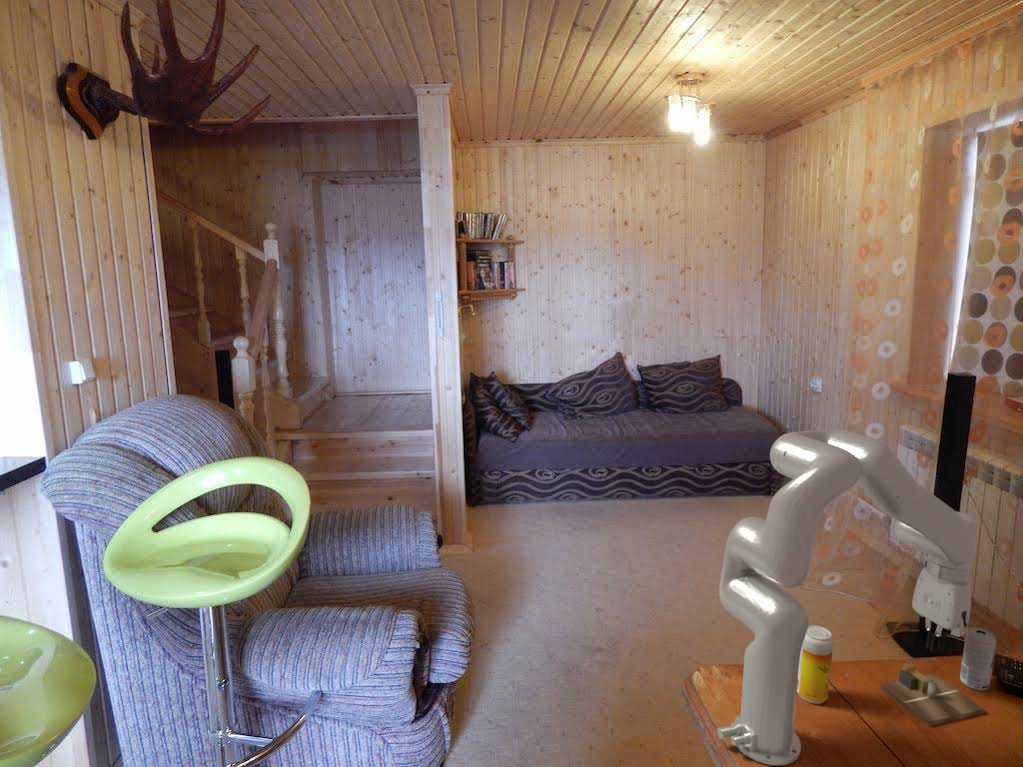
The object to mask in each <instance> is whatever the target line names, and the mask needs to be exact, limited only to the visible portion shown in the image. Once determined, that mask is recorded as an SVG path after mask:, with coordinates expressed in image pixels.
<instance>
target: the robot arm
mask: <svg viewBox="0 0 1023 767" xmlns="http://www.w3.org/2000/svg"><path fill="white" fill-rule="evenodd" d="M891 448H892V447H890V446H889V445H888V444H887V443H885V442H883V441H882V440H880V439H878V438H875V437H873V436H868V435H863V434H861V433H858V432H853V431H850V430H847V429H841V428H827V429H826V428H825V429H814V430H801V431H800V430H799V431H792V432H788V433H787V432H786V433H785V434H783V435H781V436H779V437H778V438H777V439H776V440H775V441H774V442H773V444H772V445H771V447H770V449H769V450H770V451H769V459H770V463H771V466H772V467H773V468H774V470H775V471H777V473H779V474H781V475H783V476H785V477H787V478H790V479H791V480H790V481H789V482H787V483H785V485H783V486H782V487H780V489H778V491H777V492H775V494H774V495H773V496H772V499H771V500H770V503H769V506H768V510H767V514H766V519H764V518H761V517H756V516H749V517H745V518H742V519H740V520H739V521H738V522H737V523H736V524H735V525H734V526H733V527H732V528H731V530H730V532H729V534H728V537H727V540H726V544H725V549H724V556H723V562H722V568H721V575H720V580H719V581H720V582H719V587H718V588H719V589H718V590H719V591H718V592H719V593H718V594H719V596H718V597H719V599H720V600H719V601H720V603H721V605H722V607H723V608H724V610H726V611H727V612H728V613H729V614H731V616H733V617H734V618H736V619H737V620H738V621H740V622H741V623H742V624H744V625H745V626H746V627H747V628H749V629H750V630H751V631H752V632H753V633H754V640H752V641H751V642H750V643H749V644H748V645H747V647H746V649H745V652H744V657H743V658H744V659H743V671H742V672H743V673H742V674H743V676H742V687H741V688H742V690H741V702H740V705H741V706H740V715H736V716H735V720H734V721H733V723H731V724H730V725H729V726H727V725H725V726H721V727H717V729H716V731H717V736H718V737H719V739H720V740H723V739H728V738H730V741H731V744H732V745H733V746H735V747H736V748H737V749H738V751H740V752H741V753H742V754H743V755H744V756H747V758H749V759H752V760H753V761H756V762H758V763H761V764H764V765H769V766H786V765H790V764H791V763H794V762H795V761H797V760H798V759H799V757H800V755H801V752H802V751H801V750H802V742H801V740H800V737H799V736H798V734H797V733H796V732H795V731H794V730H795V728H794V726H795V725H794V724H795V715H796V704H797V703H796V701H797V694H798V692H797V681H798V668H799V659H800V653H801V648H802V645H803V641H804V638H805V635H806V633H807V629H808V626H809V625H810V624H809V623H810V618H809V613H808V611H807V609H806V607H805V606H804V605H803V603H802V602H801V601H800V600H799V599H797V598H796V597H795V596H794V595H793V594H791V593H789V592H788V591H787V590H785V589H784V588H787V589H788V588H789V589H791V588H793V589H794V588H797V587H799V586H800V585H802V584H803V583H804V582H805V580H806V579H807V576H808V573H809V571H810V570H809V569H810V565H811V562H812V560H811V559H812V556H813V550H814V545H815V539H816V533H817V529H818V524H819V520H820V518H821V516H822V514H823V513H824V511H825V510H826V509H827V508H828V507H829V505H831V504H832V503H833V502H834V501H835V500H836V499H838V498H839V497H840V496H842V495H844V494H845V493H847V492H848V491H849V490H850V489H852V488H853V487H854V486H855V485H856V483H857V484H858V485H859V487H860V488H861V489H862V490H863V491H864V492H865V493H866V495H867V496H868V498H870V500H871V502H873V504H874V505H875V506H876V507H877V508H878V509H879V510H880V511H882V512H883V513H884V514H885V515H888V516H890V518H892V519H893V520H895V521H896V522H895V525H894V534H895V536H896V537H897V539H898V540H899V541H900V542H901V543H902V544H904V545H905V546H907V547H909V548H912V549H914V550H916V551H919V552H921V553H923V554H925V555H924V557H923V559H924V560H925V562H926V566H925V567H923V568H922V569H921V571H920V574H918V578H917V581H916V584H915V588H914V591H913V596H912V602H911V607H912V608H913V610H914V611H915V612H916V614H918V615H919V616H920V617H921V618H923V621H924V623H925V629H926V631H927V636H926V637H927V638H926V644H925V649H926V650H928V651H930V652H931V653H939V652H943V651H944V650H945V648H946V642H947V636H950V635H951V636H954V637H957V638H960V637H961V638H962V637H964V636H965V629H966V628H967V627H968V624H969V621H970V614H971V605H972V598H971V597H972V591H971V583H970V582H969V578H970V572H971V566H972V559H973V558H974V557H975V555H976V552H977V545H978V544H977V539H976V535H977V531H978V530H977V529H978V524H977V521H976V519H975V518H974V517H972V516H971V515H969V514H967V513H963V512H960V511H956V510H955V509H953V508H952V507H951V506H949V505H948V504H947V503H945V502H944V501H942V500H941V499H940V498H938V497H937V496H936V495H934V494H933V493H932V492H931V491H930V490H928V489H927V488H925V487H923V486H922V485H921V484H919V483H918V482H917V481H916V480H915V479H914V477H913V476H912V474H911V473H910V472H909V470H908V469H907V468H906V467H905V465H904V464H903V463H902V461H901V460H900V459H899V457H898V456H897V455H896V453H895V452H894V451H893V450H892V449H891ZM781 587H784V588H781Z"/></svg>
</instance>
